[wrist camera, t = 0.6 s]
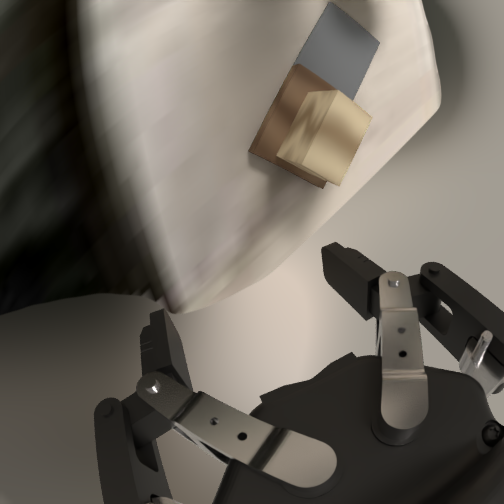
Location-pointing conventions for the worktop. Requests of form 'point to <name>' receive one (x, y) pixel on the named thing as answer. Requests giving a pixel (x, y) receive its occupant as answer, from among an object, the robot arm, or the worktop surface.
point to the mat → (338, 51)
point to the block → (325, 135)
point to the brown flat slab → (287, 118)
